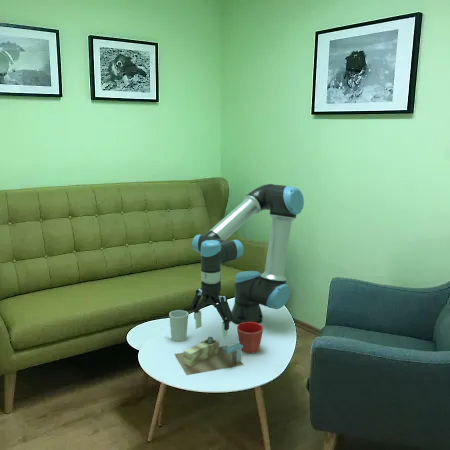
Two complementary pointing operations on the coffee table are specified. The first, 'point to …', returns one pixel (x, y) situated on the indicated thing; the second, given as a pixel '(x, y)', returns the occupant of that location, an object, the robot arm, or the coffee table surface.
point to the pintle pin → (210, 340)
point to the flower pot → (250, 336)
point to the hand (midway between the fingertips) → (211, 332)
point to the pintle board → (209, 363)
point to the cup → (178, 325)
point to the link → (201, 352)
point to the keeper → (234, 352)
